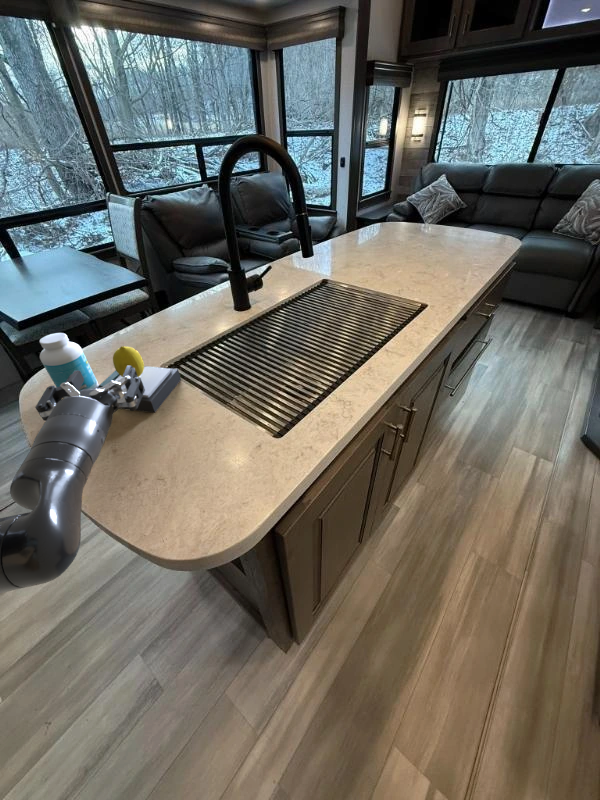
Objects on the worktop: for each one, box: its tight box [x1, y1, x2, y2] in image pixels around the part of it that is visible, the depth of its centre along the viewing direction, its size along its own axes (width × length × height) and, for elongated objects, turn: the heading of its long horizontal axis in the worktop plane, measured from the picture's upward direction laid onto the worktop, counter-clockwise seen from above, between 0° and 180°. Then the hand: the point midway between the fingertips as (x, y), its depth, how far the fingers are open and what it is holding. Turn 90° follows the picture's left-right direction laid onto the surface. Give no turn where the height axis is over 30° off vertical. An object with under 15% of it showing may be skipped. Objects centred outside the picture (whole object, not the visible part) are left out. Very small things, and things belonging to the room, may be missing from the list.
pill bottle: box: [39, 332, 100, 399], centre depth 70 cm, size 8×7×14 cm
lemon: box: [112, 345, 145, 377], centre depth 69 cm, size 6×6×8 cm
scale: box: [97, 365, 182, 413], centre depth 73 cm, size 14×12×4 cm
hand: (105, 372), depth 58 cm, fingers open, 8 cm apart
